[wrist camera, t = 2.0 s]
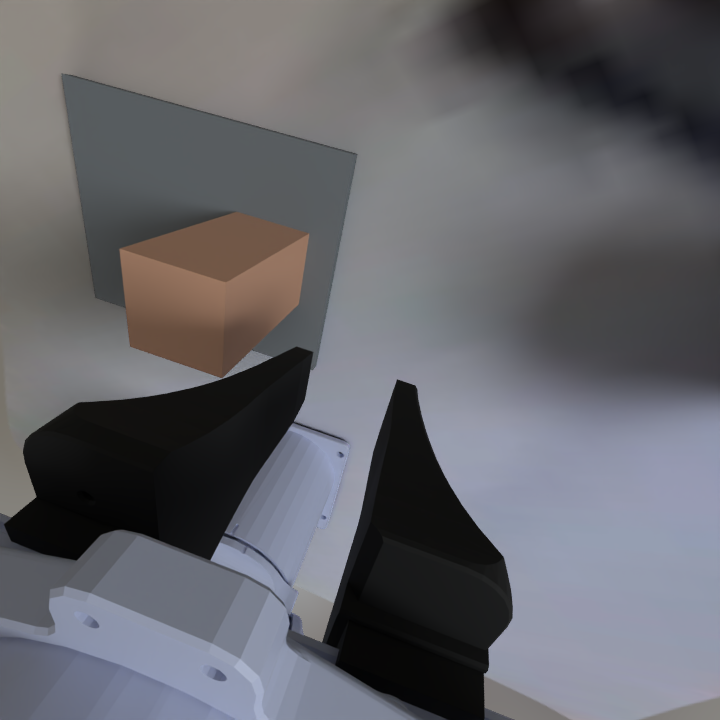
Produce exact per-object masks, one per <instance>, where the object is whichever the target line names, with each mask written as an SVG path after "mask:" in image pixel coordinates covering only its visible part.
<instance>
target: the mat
mask: <svg viewBox="0 0 720 720" xmlns="http://www.w3.org/2000/svg"><path fill="white" fill-rule="evenodd" d="M62 80H63V87H64V93H65V100H66V106H67V113H68V120H69V126H70V133H71V139H72V146H73V153H74V159H75V166H76V172H77V179H78V185H79V192H80V199H81V205H82V212H83V218H84V225H85V231H86V238H87V245H88V251H89V258H90V264H91V271H92V277H93V284H94V291H95V297H96V298H98V299H101V300H104V301H107V302H110V303H113V304H116V305H119V306H122V307H125V308H126V305H125V295H124V286H123V277H122V268H121V259H120V248H123V247H126V246H129V245H133V244H136V243H139V242H142V241H145V240H149V239H152V238H155V237H158V236H161V235H164V234H168V233H171V232H174V231H177V230H180V229H184V228H187V227H190V226H193V225H196V224H200V223H203V222H206V221H209V220H212V219H215V218H219V217H222V216H225V215H228V214H231V213H235V212H240V213H243V214H246V215H250V216H253V217H256V218H260V219H263V220H266V221H270V222H273V223H276V224H280V225H283V226H286V227H290V228H293V229H296V230H300V231H303V232H306V233H309V240H308V246H307V253H306V259H305V266H304V273H303V279H302V286H301V293H300V299H299V304H298V305H297V306H296V307H295V308H294V309H293V310H292V311H291V312H290V313H289V314H288V315H287V316H286V317H285V318H284V319H283V320H282V321H281V322H280V323H279V324H278V325H277V326H276V327H275V328H274V329H273V330H272V331H270V332H269V333H268V334H267V335H266V336H265V337H264V338H263V339H262V340H261V341H260V342H259V343H258V344H257V345H256V346H255V347H254V348H253V349H252V350H253V351H256V352H259V353H262V354H265V355H268V356H271V357H276V356H278V355H280V354H282V353H284V352H286V351H288V350H290V349H292V348H294V347H296V346H297V347H300V348H303V349H306V350H309V351H312V352H314V353H313V358H312V363H311V369H310V370H313V369H314V368H315V366H316V363H317V358H318V353H319V348H320V343H321V337H322V332H323V327H324V322H325V317H326V312H327V307H328V302H329V296H330V291H331V286H332V281H333V276H334V271H335V266H336V260H337V255H338V250H339V245H340V240H341V235H342V230H343V225H344V219H345V214H346V209H347V204H348V199H349V194H350V189H351V183H352V178H353V173H354V168H355V163H356V158H357V154H355V153H352V152H348V151H344V150H341V149H337V148H334V147H330V146H326V145H323V144H319V143H316V142H312V141H308V140H305V139H301V138H297V137H294V136H290V135H287V134H283V133H279V132H276V131H272V130H268V129H265V128H261V127H258V126H254V125H250V124H247V123H243V122H240V121H236V120H232V119H229V118H225V117H221V116H218V115H214V114H211V113H207V112H203V111H200V110H196V109H192V108H189V107H185V106H182V105H178V104H174V103H171V102H167V101H164V100H160V99H156V98H153V97H149V96H145V95H142V94H138V93H135V92H131V91H127V90H124V89H120V88H117V87H113V86H109V85H106V84H102V83H98V82H95V81H91V80H88V79H84V78H80V77H77V76H73V75H67V74H62Z"/></svg>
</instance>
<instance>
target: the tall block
mask: <svg viewBox="0 0 720 720" xmlns="http://www.w3.org/2000/svg"><path fill="white" fill-rule="evenodd" d="M308 240H309V233H306V232H303V231H300V230H296V229H293V228H290V227H286V226H283V225H280V224H276V223H273V222H270V221H266V220H263V219H260V218H256V217H253V216H250V215H246V214H243V213H240V212H235V213H231V214H228V215H225V216H222V217H219V218H215V219H212V220H209V221H206V222H203V223H200V224H196V225H193V226H190V227H187V228H184V229H180V230H177V231H174V232H171V233H168V234H164V235H161V236H158V237H155V238H152V239H149V240H145V241H142V242H139V243H136V244H133V245H129V246H126V247H123V248H120V259H121V268H122V277H123V286H124V295H125V305H126V314H127V323H128V332H129V341H130V347H133V348H136V349H139V350H142V351H145V352H148V353H150V354H153V355H156V356H159V357H162V358H165V359H168V360H171V361H174V362H177V363H180V364H182V365H185V366H188V367H191V368H194V369H197V370H200V371H203V372H206V373H209V374H211V375H214V376H217V377H220V378H223V377H224V376H225V375H226V374H227V373H228V372H229V371H230V370H231V369H232V368H233V367H234V366H235V365H236V364H237V363H238V362H239V361H240V360H241V359H242V358H244V357H245V356H246V355H247V354H248V353H249V352H250V351H251V350H252V349H253V348H254V347H255V346H256V345H257V344H258V343H259V342H260V341H261V340H262V339H263V338H264V337H265V336H266V335H267V334H268V333H269V332H270V331H272V330H273V329H274V328H275V327H276V326H277V325H278V324H279V323H280V322H281V321H282V320H283V319H284V318H285V317H286V316H287V315H288V314H289V313H290V312H291V311H292V310H293V309H294V308H295V307H296V306H297V305H298V304H299V299H300V293H301V286H302V279H303V273H304V266H305V259H306V253H307V246H308Z"/></svg>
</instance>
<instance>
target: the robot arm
mask: <svg viewBox="0 0 720 720" xmlns="http://www.w3.org/2000/svg"><path fill="white" fill-rule="evenodd" d="M313 353H314V352H312V351H309V350H306V349H303V348H300V347H297V346H296V347H294V348H292V349H290V350H288V351H286V352H284V353H282V354H280V355H278V356H276V357H273V358H271V359H269V360H267V361H265V362H263V363H261V364H259V365H257V366H254V367H252V368H250V369H247V370H245V371H242V372H240V373H237V374H235V375H232V376H230V377H227V378H224V379H221V380H218V381H215V382H212V383H208V384H205V385H202V386H198V387H194V388H190V389H185V390H180V391H176V392H171V393H167V394H161V395H155V396H149V397H141V398H133V399H124V400H112V401H97V402H79V403H77V404H75V405H74V406H72V407H71V408H69V409H68V410H66V411H65V412H63V413H62V414H60V415H59V416H57V417H56V418H54V419H53V420H51V421H50V422H48V423H47V424H45V425H44V426H42V427H41V428H39V429H38V430H37V431H35V432H34V433H32V434H31V435H30V436H29V437H28V438H27V439H26V440H25V444H24V448H23V454H24V460H25V464H26V467H27V470H28V473H29V475H30V479H31V482H32V485H33V487H34V490H35V493H36V496H37V497H36V498H35V499H34V500H33V501H32V502H30V503H29V504H28V505H26V506H25V507H24V508H23V509H22V510H20V511H19V512H18V513H17V514H16V515H14V516H13V517H12V518H11V517H8V516H6V515H3V514H1V513H0V720H514V719H511V718H508V717H506V716H504V715H501V714H499V713H496V712H494V711H491V710H489V709H486V708H484V673H486V672H487V671H488V668H489V654H488V648H489V647H490V646H491V645H492V644H493V642H494V641H495V640H496V639H497V638H498V637H499V636H500V635H501V634H502V632H503V631H504V630H505V629H506V628H507V627H508V625H509V623H510V621H511V620H512V611H513V606H512V595H511V588H510V583H509V578H508V573H507V569H506V564H505V560H504V557H503V556H502V555H501V553H500V552H499V551H498V550H497V549H496V548H495V546H494V545H493V544H492V543H491V542H490V541H489V539H488V538H487V537H486V536H485V535H484V534H483V532H482V531H481V530H480V529H479V528H478V526H477V525H476V524H475V522H474V521H473V520H472V518H471V517H470V515H469V514H468V513H467V511H466V510H465V509H464V507H463V506H462V504H461V503H460V501H459V499H458V498H457V496H456V495H455V493H454V491H453V490H452V488H451V487H450V485H449V483H448V481H447V479H446V478H445V476H444V474H443V472H442V470H441V468H440V466H439V463H438V461H437V459H436V457H435V454H434V452H433V449H432V447H431V444H430V441H429V438H428V435H427V432H426V429H425V426H424V422H423V419H422V415H421V411H420V406H419V401H418V393H417V388H416V386H415V385H412V384H409V383H406V382H403V381H400V380H397V381H396V384H395V387H394V390H393V393H392V396H391V399H390V402H389V405H388V408H387V411H386V414H385V417H384V420H383V423H382V426H381V429H380V432H379V435H378V439H377V442H376V445H375V448H374V451H373V456H372V461H371V466H370V471H369V476H368V481H367V486H366V491H365V496H364V501H363V506H362V511H361V515H360V519H359V523H358V526H357V530H356V533H355V536H354V540H353V543H352V546H351V550H350V553H349V556H348V560H347V563H346V566H345V569H344V573H343V576H342V579H341V583H340V586H339V589H338V592H337V596H336V599H335V602H334V606H333V609H332V612H331V615H330V619H329V622H328V625H327V629H326V632H325V635H324V638H323V642H320V641H317V640H315V639H312V638H310V637H307V636H305V635H304V634H303V629H302V620H301V618H300V617H299V616H297V615H295V614H294V613H292V609H293V607H294V604H295V601H296V599H297V596H298V591H297V590H295V589H294V588H292V587H293V585H294V582H295V580H296V577H297V575H298V572H299V570H300V567H301V565H302V562H303V560H304V557H305V555H306V552H307V550H308V547H309V545H310V542H311V539H312V537H313V534H314V532H315V529H316V527H317V528H320V529H325V528H327V525H328V523H329V519H330V516H331V512H332V509H333V505H334V502H335V499H336V495H337V492H338V488H339V485H340V481H341V478H342V474H343V471H344V468H345V464H346V461H347V457H348V454H349V450H350V445H349V444H348V443H347V442H345V441H343V440H340V439H337V438H334V437H331V436H328V435H326V434H323V433H320V432H317V431H314V430H311V429H308V428H305V427H303V426H300V425H297V424H294V423H293V422H294V420H295V418H296V416H297V414H298V412H299V410H300V408H301V406H302V404H303V402H304V400H305V395H306V390H307V385H308V379H309V374H310V369H311V363H312V358H313ZM339 452H342V453H343V454H341V453H339Z"/></svg>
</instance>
